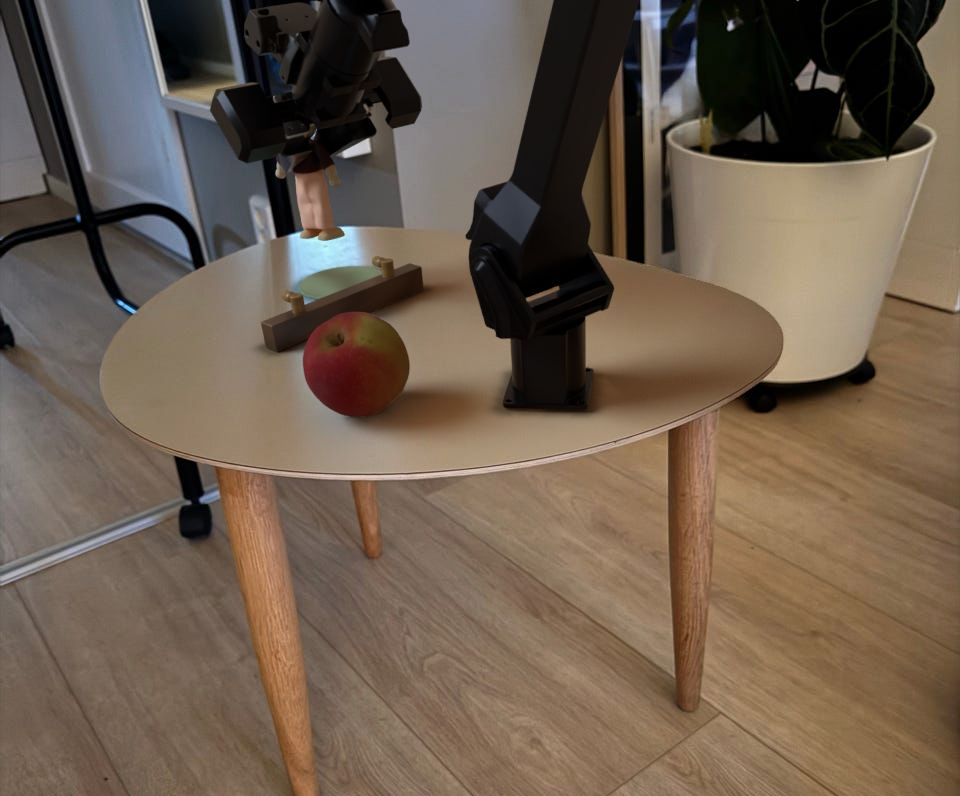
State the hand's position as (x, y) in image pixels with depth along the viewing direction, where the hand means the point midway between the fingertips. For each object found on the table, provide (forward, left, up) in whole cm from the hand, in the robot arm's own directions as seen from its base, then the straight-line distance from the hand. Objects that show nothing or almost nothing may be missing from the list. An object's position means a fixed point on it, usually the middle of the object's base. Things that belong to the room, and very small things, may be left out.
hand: (299, 165), depth 90 cm
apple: (-26, -12, -12) cm, 32 cm away
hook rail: (-4, -1, -12) cm, 13 cm away
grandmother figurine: (-1, -1, -7) cm, 7 cm away
